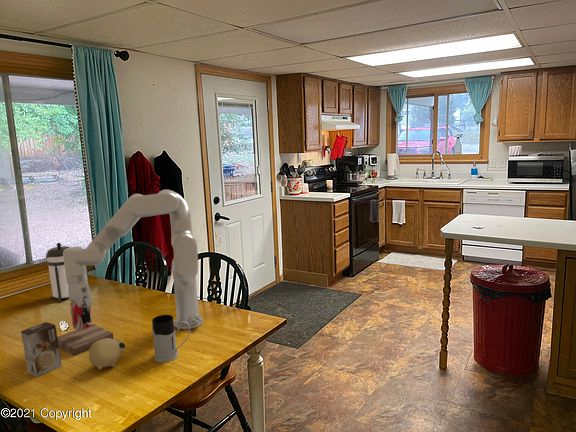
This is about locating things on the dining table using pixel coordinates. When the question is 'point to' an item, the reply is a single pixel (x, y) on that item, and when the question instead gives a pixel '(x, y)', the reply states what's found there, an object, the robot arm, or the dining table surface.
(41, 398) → the dining table surface
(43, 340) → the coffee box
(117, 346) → the toy pig
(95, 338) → the walnut stand
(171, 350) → the grey black mug
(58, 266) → the coffee press
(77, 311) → the soda can
